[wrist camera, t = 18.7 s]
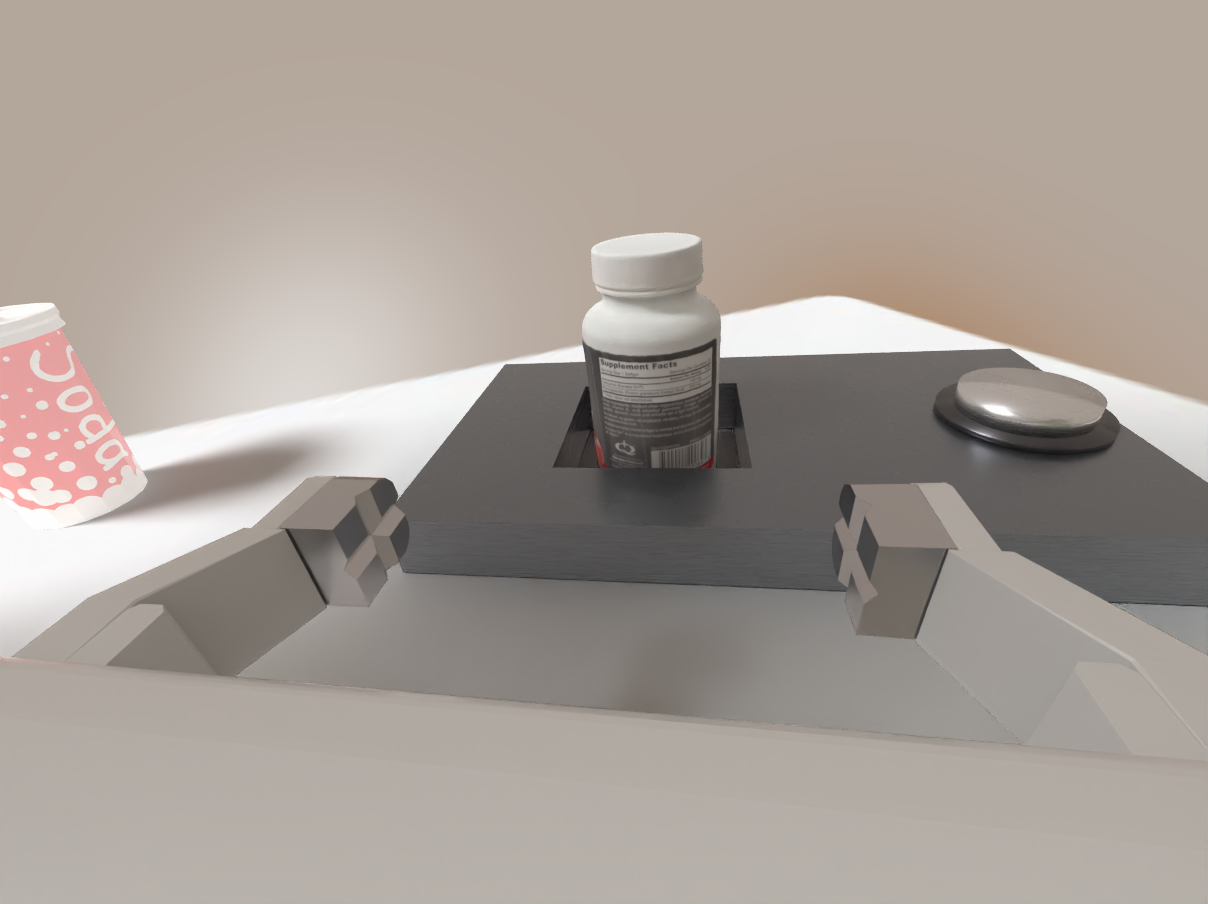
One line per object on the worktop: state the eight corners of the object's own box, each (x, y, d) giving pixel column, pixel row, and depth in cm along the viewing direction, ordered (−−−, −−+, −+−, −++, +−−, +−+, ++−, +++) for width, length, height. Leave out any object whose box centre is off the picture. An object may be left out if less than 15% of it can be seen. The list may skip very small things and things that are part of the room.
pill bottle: (613, 437, 26) (594, 232, 21) (720, 442, 25) (728, 225, 20) (584, 500, 22) (551, 261, 17) (712, 510, 20) (719, 254, 15)
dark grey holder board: (403, 572, 19) (371, 494, 17) (513, 403, 31) (501, 346, 29) (1239, 607, 15) (1321, 507, 13) (993, 394, 26) (1017, 326, 24)
